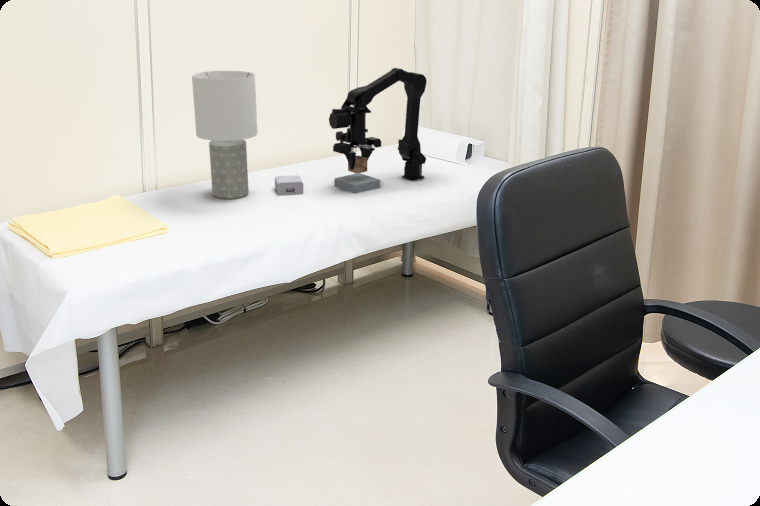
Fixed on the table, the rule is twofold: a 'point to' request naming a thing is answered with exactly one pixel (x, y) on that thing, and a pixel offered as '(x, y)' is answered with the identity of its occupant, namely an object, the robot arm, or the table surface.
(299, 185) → the charger
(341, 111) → the robot arm
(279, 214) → the table surface
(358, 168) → the walnut cube
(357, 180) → the grey base
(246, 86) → the lamp
